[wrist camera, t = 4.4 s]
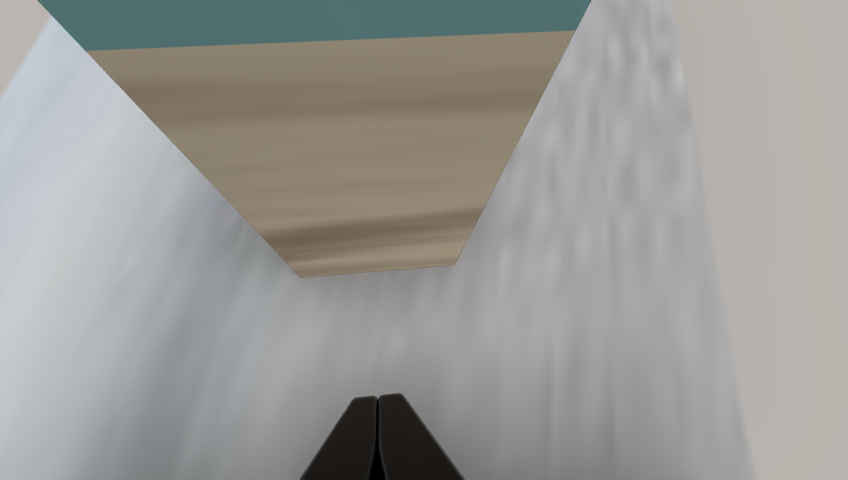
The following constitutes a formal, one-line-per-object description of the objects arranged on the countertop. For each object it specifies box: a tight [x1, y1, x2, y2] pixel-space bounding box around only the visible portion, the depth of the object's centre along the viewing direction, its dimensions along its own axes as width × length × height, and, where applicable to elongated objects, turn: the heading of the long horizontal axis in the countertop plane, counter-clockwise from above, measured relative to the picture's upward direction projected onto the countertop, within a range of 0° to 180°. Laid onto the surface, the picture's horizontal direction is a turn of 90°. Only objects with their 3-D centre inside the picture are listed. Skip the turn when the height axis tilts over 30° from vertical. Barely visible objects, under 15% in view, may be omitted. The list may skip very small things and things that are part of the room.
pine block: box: [38, 0, 591, 277], centre depth 13 cm, size 6×6×14 cm
